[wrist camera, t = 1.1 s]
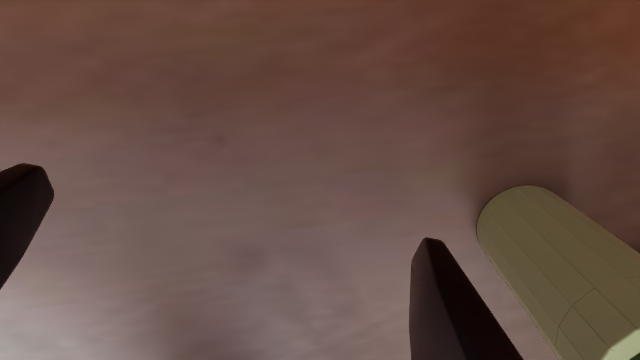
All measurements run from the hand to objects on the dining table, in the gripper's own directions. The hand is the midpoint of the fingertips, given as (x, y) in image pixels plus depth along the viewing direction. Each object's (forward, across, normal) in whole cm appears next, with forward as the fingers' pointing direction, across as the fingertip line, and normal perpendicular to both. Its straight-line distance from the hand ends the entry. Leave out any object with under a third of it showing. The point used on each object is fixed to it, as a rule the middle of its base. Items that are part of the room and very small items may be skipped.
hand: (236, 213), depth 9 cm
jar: (+13, -17, +11) cm, 24 cm away
